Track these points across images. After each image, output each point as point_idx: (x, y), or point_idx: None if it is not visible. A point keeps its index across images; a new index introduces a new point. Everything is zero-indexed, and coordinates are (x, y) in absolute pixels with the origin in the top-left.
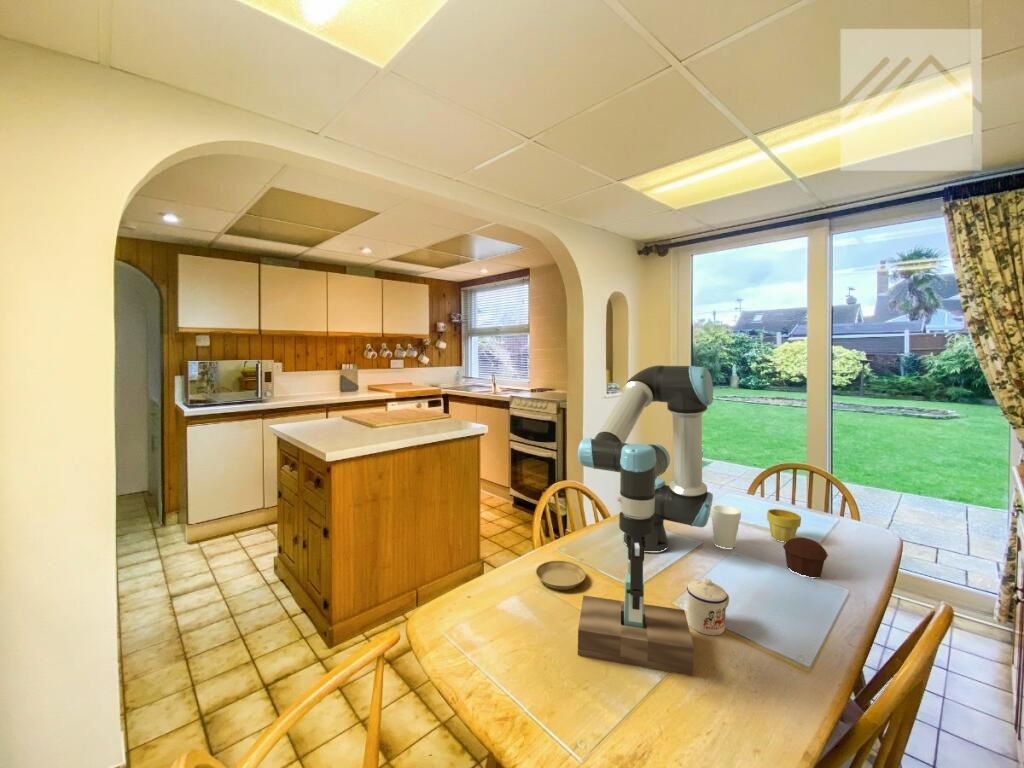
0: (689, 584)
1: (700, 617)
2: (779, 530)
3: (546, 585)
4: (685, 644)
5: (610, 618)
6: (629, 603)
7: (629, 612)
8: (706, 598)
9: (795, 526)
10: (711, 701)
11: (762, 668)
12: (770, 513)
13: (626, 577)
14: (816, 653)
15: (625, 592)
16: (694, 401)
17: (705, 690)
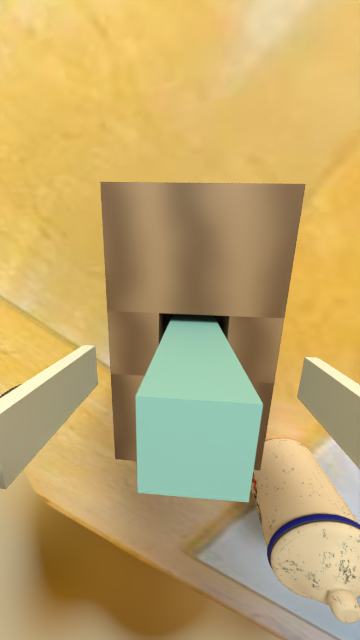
0: (351, 536)
1: (261, 481)
2: None
3: None
4: (124, 446)
5: (182, 284)
6: (35, 377)
7: (64, 359)
8: (277, 553)
9: None
10: (88, 428)
11: (178, 507)
12: None
13: (201, 406)
14: (227, 575)
15: (151, 363)
16: None
17: (107, 425)
